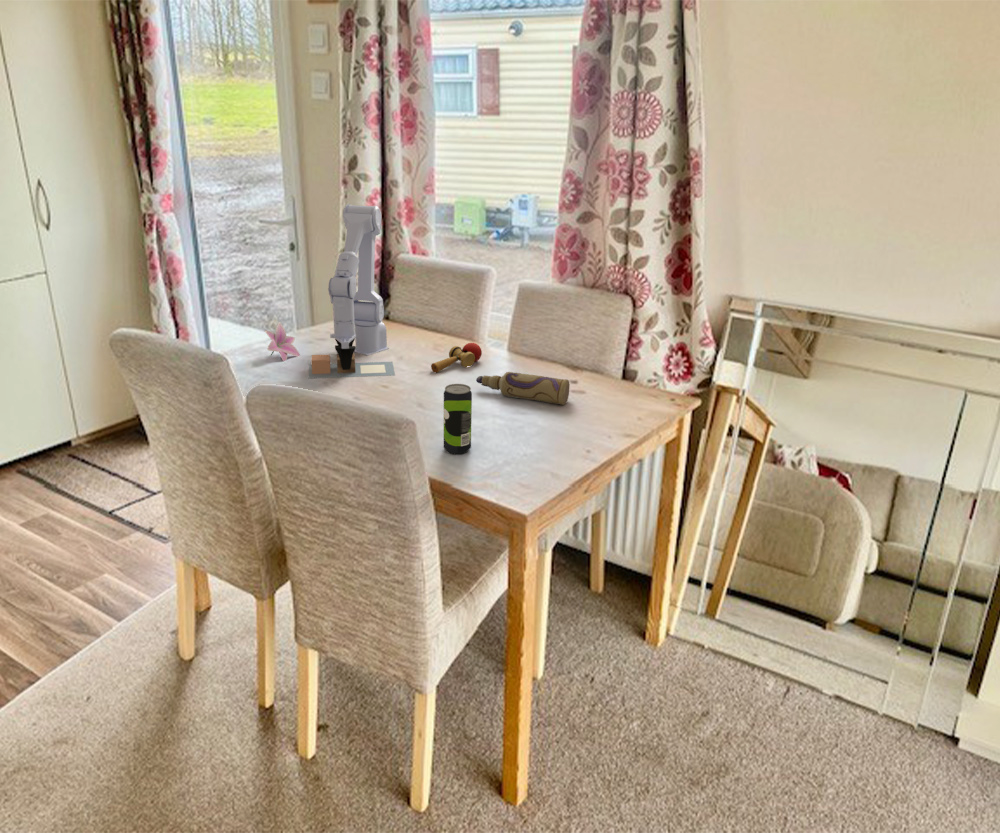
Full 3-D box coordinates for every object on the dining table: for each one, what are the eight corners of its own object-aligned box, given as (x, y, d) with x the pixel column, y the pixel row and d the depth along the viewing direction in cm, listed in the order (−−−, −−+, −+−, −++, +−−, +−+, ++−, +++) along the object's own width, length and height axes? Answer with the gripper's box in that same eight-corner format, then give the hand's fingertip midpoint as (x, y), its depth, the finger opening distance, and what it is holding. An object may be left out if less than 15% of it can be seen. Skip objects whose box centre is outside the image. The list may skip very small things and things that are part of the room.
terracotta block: (330, 367, 226) (329, 354, 224) (330, 373, 221) (329, 360, 219) (312, 368, 225) (311, 355, 223) (312, 374, 220) (311, 360, 218)
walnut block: (355, 366, 227) (354, 353, 225) (355, 372, 222) (354, 359, 221) (337, 367, 226) (336, 354, 224) (337, 373, 221) (336, 359, 220)
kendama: (446, 381, 223) (489, 359, 234) (441, 360, 221) (485, 339, 232) (428, 378, 229) (472, 357, 240) (423, 358, 226) (468, 338, 238)
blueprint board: (392, 362, 232) (392, 361, 232) (395, 376, 221) (395, 375, 221) (309, 365, 228) (309, 364, 228) (308, 379, 217) (308, 378, 217)
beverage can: (470, 444, 181) (471, 383, 175) (470, 455, 175) (471, 393, 169) (444, 443, 181) (444, 383, 175) (443, 455, 175) (443, 393, 169)
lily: (262, 369, 227) (274, 343, 223) (248, 344, 233) (260, 319, 229) (298, 373, 235) (311, 348, 231) (284, 349, 242) (296, 324, 238)
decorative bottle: (570, 399, 209) (572, 376, 207) (562, 409, 203) (564, 385, 200) (482, 384, 218) (482, 362, 215) (471, 393, 211) (471, 370, 209)
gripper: (329, 312, 224) (332, 357, 229) (329, 326, 211) (331, 374, 216) (354, 312, 225) (356, 356, 231) (355, 326, 212) (357, 373, 218)
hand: (346, 365), depth 224 cm, fingers open, 6 cm apart
